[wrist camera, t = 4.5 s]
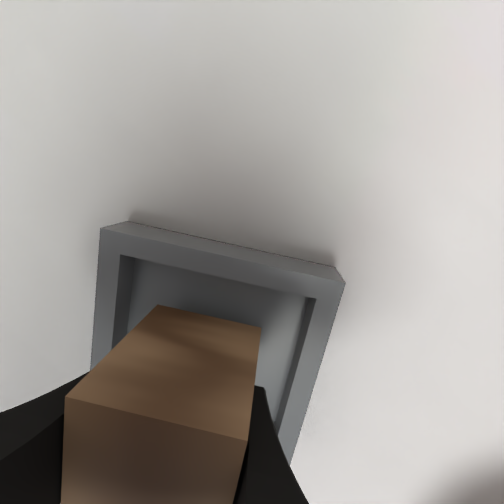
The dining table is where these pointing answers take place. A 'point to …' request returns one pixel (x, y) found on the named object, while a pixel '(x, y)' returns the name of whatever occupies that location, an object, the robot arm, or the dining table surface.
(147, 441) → the walnut block
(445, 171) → the dining table surface
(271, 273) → the tray
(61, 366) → the dining table surface
